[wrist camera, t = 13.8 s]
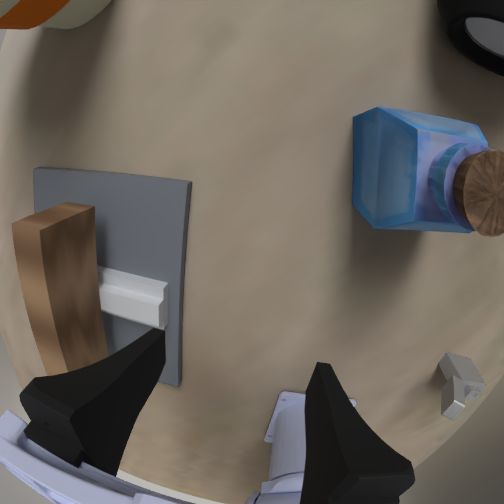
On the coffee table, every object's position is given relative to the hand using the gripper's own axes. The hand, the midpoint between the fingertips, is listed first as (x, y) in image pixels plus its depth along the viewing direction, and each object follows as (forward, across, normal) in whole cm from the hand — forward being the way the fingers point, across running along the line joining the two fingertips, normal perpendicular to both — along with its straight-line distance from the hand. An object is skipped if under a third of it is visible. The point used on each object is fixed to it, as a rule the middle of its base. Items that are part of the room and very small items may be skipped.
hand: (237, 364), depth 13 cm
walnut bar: (+7, +14, +4) cm, 16 cm away
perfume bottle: (+11, -8, -10) cm, 17 cm away
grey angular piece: (+11, -20, +6) cm, 23 cm away
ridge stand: (+10, +14, +4) cm, 18 cm away
